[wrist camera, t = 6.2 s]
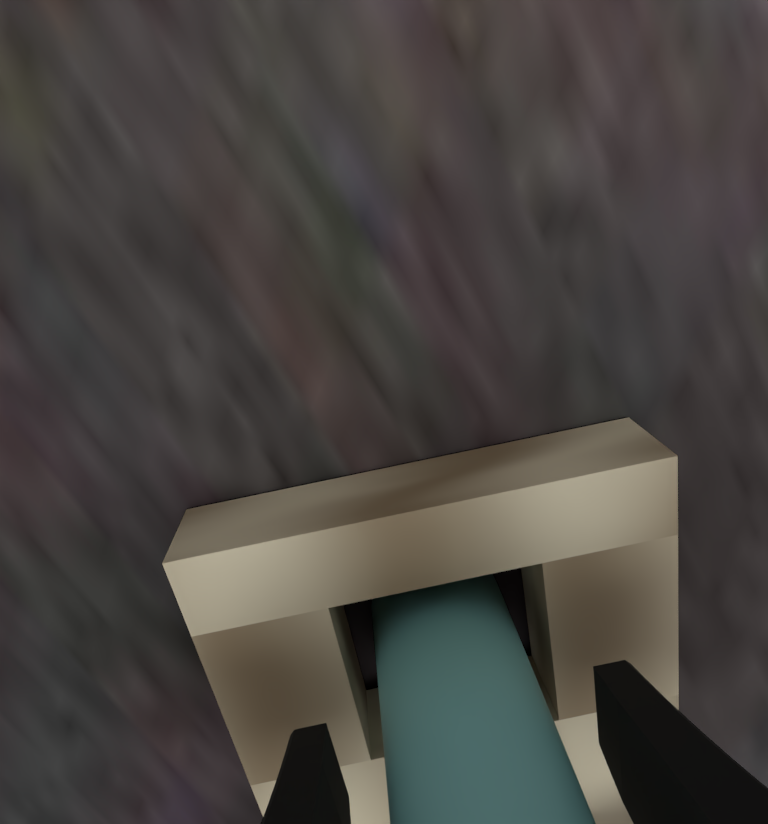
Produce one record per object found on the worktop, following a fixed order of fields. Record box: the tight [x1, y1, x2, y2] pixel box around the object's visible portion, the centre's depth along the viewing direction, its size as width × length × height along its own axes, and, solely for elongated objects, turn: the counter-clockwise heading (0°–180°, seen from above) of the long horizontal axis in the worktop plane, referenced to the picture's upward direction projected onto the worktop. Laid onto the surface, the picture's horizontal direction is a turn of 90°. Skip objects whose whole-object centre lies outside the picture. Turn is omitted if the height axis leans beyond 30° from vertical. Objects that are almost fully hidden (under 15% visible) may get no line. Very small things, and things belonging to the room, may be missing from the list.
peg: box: [371, 574, 596, 824], centre depth 11 cm, size 3×3×8 cm
